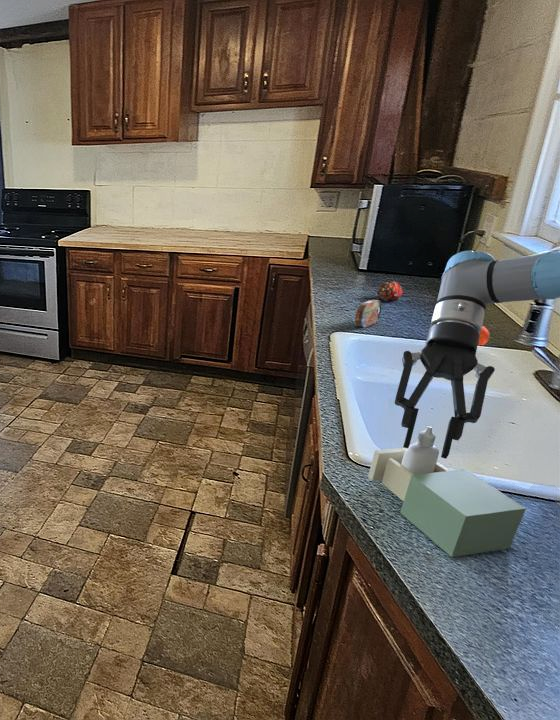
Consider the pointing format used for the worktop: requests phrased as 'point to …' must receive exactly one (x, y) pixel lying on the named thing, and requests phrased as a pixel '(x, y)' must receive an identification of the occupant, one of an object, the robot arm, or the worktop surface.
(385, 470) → the drawer
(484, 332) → the red tomato
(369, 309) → the sandwich
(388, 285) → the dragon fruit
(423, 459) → the eye dropper bottle
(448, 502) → the cabinet
